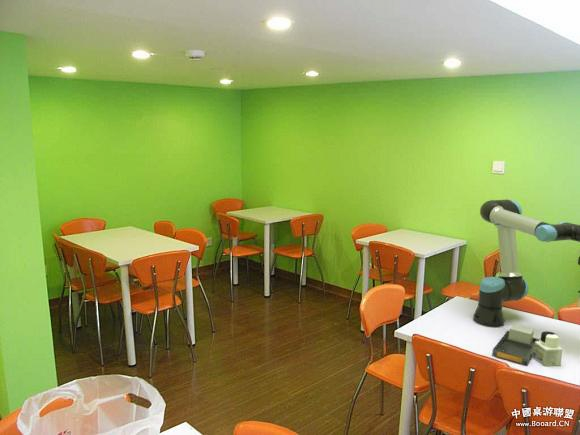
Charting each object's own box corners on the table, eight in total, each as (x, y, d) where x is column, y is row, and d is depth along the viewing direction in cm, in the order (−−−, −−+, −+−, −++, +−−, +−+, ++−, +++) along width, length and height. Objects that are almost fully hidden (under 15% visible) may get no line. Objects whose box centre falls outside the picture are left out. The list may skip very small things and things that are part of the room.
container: (532, 357, 198) (536, 329, 196) (549, 357, 199) (552, 329, 197) (543, 366, 191) (547, 337, 189) (561, 365, 191) (564, 337, 189)
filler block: (508, 340, 211) (509, 328, 210) (511, 335, 217) (513, 323, 216) (529, 346, 205) (530, 334, 204) (532, 340, 211) (534, 328, 210)
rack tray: (491, 356, 199) (492, 349, 198) (506, 336, 220) (507, 330, 219) (526, 366, 190) (527, 359, 190) (538, 344, 211) (539, 339, 210)
